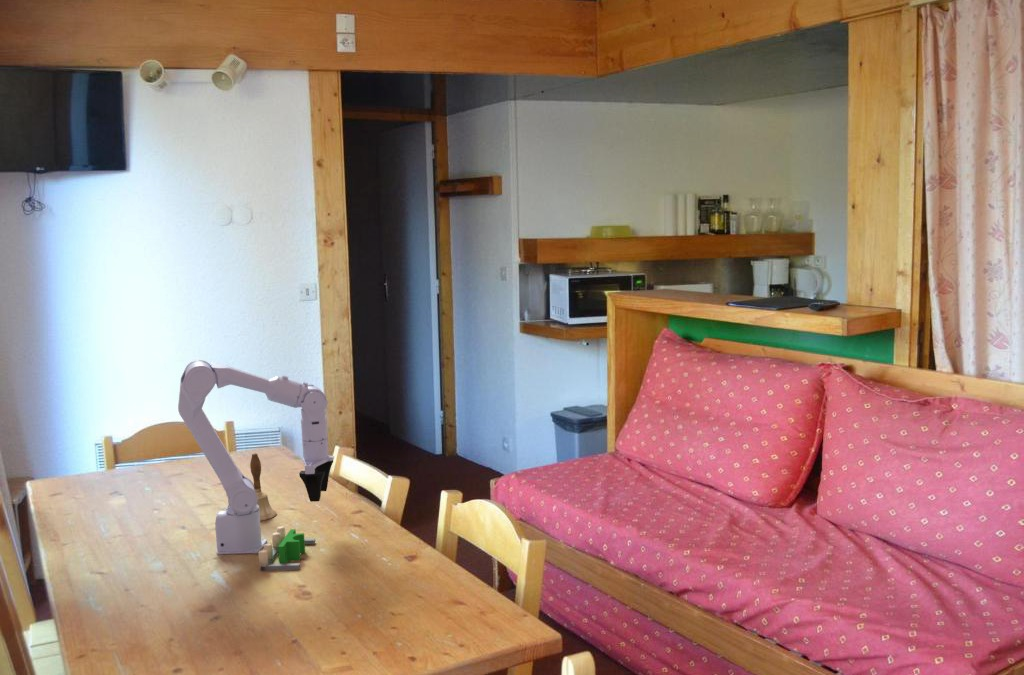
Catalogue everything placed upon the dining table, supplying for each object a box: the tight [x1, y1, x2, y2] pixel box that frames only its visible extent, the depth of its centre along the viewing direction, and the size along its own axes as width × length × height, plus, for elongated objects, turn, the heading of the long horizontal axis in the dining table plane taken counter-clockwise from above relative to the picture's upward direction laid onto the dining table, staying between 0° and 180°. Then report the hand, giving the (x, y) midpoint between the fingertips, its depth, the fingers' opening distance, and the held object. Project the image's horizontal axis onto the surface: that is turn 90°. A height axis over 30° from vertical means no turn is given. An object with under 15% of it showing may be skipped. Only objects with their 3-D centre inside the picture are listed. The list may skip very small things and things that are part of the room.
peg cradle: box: [258, 525, 316, 572], centre depth 213 cm, size 8×17×4 cm, turn 179°
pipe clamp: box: [278, 528, 306, 564], centre depth 213 cm, size 11×4×5 cm, turn 179°
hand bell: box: [249, 452, 278, 522], centre depth 241 cm, size 8×8×16 cm
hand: (318, 495), depth 224 cm, fingers open, 7 cm apart
